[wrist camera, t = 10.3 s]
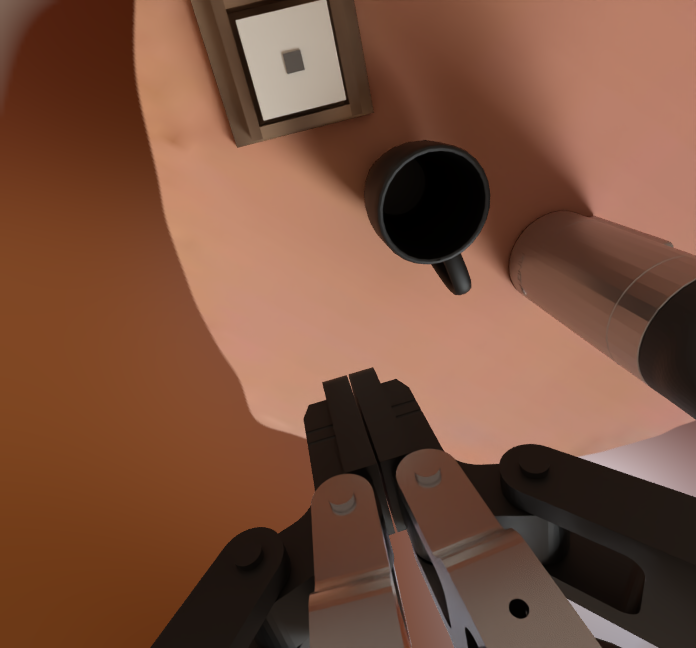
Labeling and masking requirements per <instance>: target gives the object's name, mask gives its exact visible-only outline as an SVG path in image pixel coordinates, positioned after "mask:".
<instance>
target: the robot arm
mask: <svg viewBox="0 0 696 648" xmlns="http://www.w3.org/2000/svg"><path fill="white" fill-rule="evenodd" d="M509 271H510V277H511V280H512V282H513V285H514V286H515V288H516V289H517V290H518V291H519V292H520V293H521V294H523V295H524V296H525V297H527V298H528V299H529V300H531V301H532V302H533V303H535V304H536V305H537V306H539V307H540V308H541V309H543V310H544V311H545V312H547V313H548V314H550V315H551V316H552V317H554V318H555V319H556V320H558V321H559V322H561V323H562V324H563V325H565V326H566V327H568V328H569V329H570V330H572V331H573V332H574V333H576V334H577V335H579V336H580V337H581V338H583V339H584V340H586V341H587V342H588V343H590V344H591V345H592V346H594V347H595V348H597V349H598V350H599V351H601V352H602V353H604V354H605V355H606V356H608V357H609V358H610V359H612V360H613V361H615V362H616V363H617V364H619V365H620V366H622V367H623V368H625V369H626V370H627V371H629V372H630V373H631V374H633V375H634V376H636V377H637V378H638V379H640V380H641V381H643V382H644V383H645V384H647V385H648V386H650V387H651V388H652V389H654V390H655V391H657V392H658V393H659V394H661V395H662V396H664V397H665V398H667V399H668V400H670V401H671V402H672V403H674V404H675V405H676V406H678V407H679V408H681V409H682V410H683V411H685V412H686V413H687V414H689V415H690V416H692V417H693V418H694V419H696V256H695V255H693V254H690V253H687V252H684V251H681V250H678V249H676V248H673V244H672V243H671V242H669V241H667V240H664V239H661V238H658V237H655V236H652V235H649V234H646V233H643V232H640V231H637V230H634V229H631V228H629V227H626V226H623V225H620V224H617V223H614V222H611V221H608V220H605V219H602V218H599V217H596V216H591V217H586V216H583V215H580V214H577V213H574V212H569V211H557V212H553V213H549V214H547V215H545V216H543V217H541V218H539V219H537V220H536V221H534V222H533V223H532V224H530V225H529V226H528V227H527V228H526V229H525V231H524V232H523V233H522V234H521V236H520V237H519V238H518V240H517V241H516V244H515V246H514V248H513V250H512V253H511V257H510V265H509ZM349 379H350V382H351V386H352V389H351V386H350V383H349V380H348V377H347V375H346V376H342V377H339V378H336V379H332V380H329V381H325V382H322V383H323V388H324V392H325V396H326V400H324V401H321V402H317V403H314V404H311V405H309V406H308V409H307V411H306V414H305V416H304V425H305V431H306V437H307V443H308V449H309V455H310V462H311V468H312V474H313V480H314V486H315V493H314V495H313V498H312V501H311V506H310V508H309V509H308V511H307V512H306V513H305V515H303V516H302V517H301V518H300V519H299V520H298V521H297V522H295V523H294V524H292V525H291V526H289V527H288V528H286V529H285V530H283V531H281V532H280V533H278V534H277V532H275V531H274V530H272V529H269V528H265V527H257V528H252V529H248V530H246V531H244V532H242V533H240V534H238V535H237V536H236V537H234V538H233V539H232V540H231V541H230V542H229V543H228V544H227V545H226V546H225V547H224V549H223V550H222V551H221V553H220V554H219V556H218V557H217V558H216V560H215V561H214V562H213V564H212V565H211V566H210V568H209V569H208V571H207V572H206V573H205V575H204V576H203V577H202V578H201V580H200V581H199V583H198V584H197V585H196V587H195V588H194V589H193V591H192V592H191V594H190V595H189V596H188V598H187V599H186V600H185V601H184V603H183V604H182V606H181V607H180V608H179V610H178V611H177V612H176V614H175V615H174V617H173V618H172V619H171V620H170V622H169V623H168V624H167V626H166V627H165V629H164V630H163V631H162V633H161V634H160V635H159V637H158V638H157V639H156V641H155V642H154V644H153V645H152V646H151V648H412V645H411V641H410V636H409V632H408V627H407V623H406V618H405V613H404V609H403V604H402V600H401V595H400V591H399V586H398V582H397V577H396V573H395V568H394V565H393V564H394V554H393V550H392V546H391V543H390V539H389V535H391V534H394V533H395V531H394V527H393V523H392V519H391V515H390V511H391V513H392V517H393V519H394V523H395V525H396V528H397V531H398V532H400V531H403V530H406V529H407V532H408V535H409V537H410V540H411V543H412V546H413V551H414V555H415V559H416V561H417V564H418V566H419V568H420V571H421V573H422V575H423V577H424V580H425V582H426V584H427V586H428V589H429V591H430V593H431V595H432V597H433V600H434V602H435V604H436V606H437V609H438V611H439V613H440V615H441V617H442V620H443V622H444V624H445V626H446V629H447V631H448V633H449V635H450V638H451V640H452V643H453V645H454V648H621V647H619V646H617V645H615V644H613V643H610V642H607V641H604V640H601V639H598V638H595V637H594V636H593V635H592V633H591V632H590V631H589V629H588V628H587V626H586V625H585V623H584V622H583V621H582V619H581V618H580V617H579V615H578V614H577V612H576V611H575V610H574V608H573V607H572V605H571V604H570V603H569V601H568V600H567V599H569V600H571V601H573V602H575V603H577V604H578V605H580V606H582V607H584V608H586V609H588V610H589V611H591V612H593V613H595V614H597V615H599V616H601V617H603V618H604V619H606V620H608V621H610V622H612V623H614V624H616V625H617V626H619V627H621V628H623V629H625V630H627V631H629V632H631V633H632V634H634V635H636V636H638V637H640V638H642V639H644V640H646V641H647V642H649V643H651V644H653V645H655V646H657V647H658V648H696V497H693V496H690V495H687V494H684V493H681V492H678V491H675V490H673V489H670V488H667V487H664V486H661V485H658V484H655V483H652V482H649V481H646V480H643V479H640V478H637V477H634V476H631V475H628V474H626V473H622V472H620V471H617V470H613V469H610V468H608V467H605V466H602V465H599V464H596V463H593V462H590V461H587V460H584V459H581V458H578V457H575V456H572V455H570V454H567V453H564V452H561V451H558V450H555V449H552V448H549V447H546V446H542V445H536V444H525V445H519V446H516V447H513V448H512V449H510V450H508V451H507V452H506V453H505V454H504V455H503V456H502V458H501V460H500V464H487V465H473V464H467V463H463V462H460V461H457V460H455V459H454V458H453V457H452V456H451V455H450V454H448V453H446V452H445V451H444V450H443V449H442V447H441V445H440V443H439V442H438V440H437V438H436V436H435V434H434V432H433V431H432V429H431V427H430V425H429V423H428V421H427V420H426V418H425V416H424V414H423V412H422V411H421V409H420V407H419V405H418V403H417V401H416V400H415V398H414V396H413V394H412V392H411V390H410V388H409V387H408V386H406V385H405V384H403V383H402V382H400V381H398V380H397V379H394V380H391V381H387V382H384V383H380V381H379V379H378V377H377V374H376V372H375V370H374V368H373V367H372V368H369V369H366V370H362V371H359V372H355V373H352V374H349ZM352 390H353V392H352ZM353 394H354V395H353ZM386 499H387V500H386ZM387 502H388V504H387ZM388 505H389V508H390V511H389V508H388Z"/></svg>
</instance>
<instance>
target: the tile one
mask: <svg viewBox="0 0 696 648" xmlns="http://www.w3.org/2000/svg"><path fill="white" fill-rule="evenodd" d="M235 21H236V25H237V29H238V33H239V36H240V40H241V43H242V47H243V50H244V54H245V57H246V61H247V64H248V68H249V72H250V75H251V79H252V82H253V86H254V89H255V93H256V96H257V100H258V103H259V107H260V110H261V114H262V117H263V120H264V121H265V120H268V119H272V118H276V117H280V116H284V115H288V114H292V113H296V112H300V111H304V110H308V109H312V108H316V107H320V106H324V105H327V104H331V103H335V102H339V101H343V100H346V96H345V91H344V86H343V81H342V76H341V71H340V66H339V61H338V56H337V51H336V46H335V41H334V36H333V31H332V26H331V21H330V16H329V11H328V6H327V1H326V0H319V1H315V2H310V3H306V4H302V5H298V6H294V7H289V8H285V9H281V10H277V11H273V12H268V13H264V14H260V15H256V16H252V17H247V18H243V19H239V20H235Z"/></svg>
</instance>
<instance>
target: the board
mask: <svg viewBox="0 0 696 648" xmlns="http://www.w3.org/2000/svg"><path fill="white" fill-rule="evenodd" d="M315 1H319V0H191V3H192V6H193V10H194V13H195V16H196V19H197V22H198V25H199V29H200V32H201V35H202V38H203V41H204V44H205V48H206V51H207V54H208V57H209V60H210V63H211V67H212V70H213V73H214V76H215V79H216V82H217V86H218V89H219V92H220V95H221V98H222V101H223V105H224V108H225V111H226V114H227V117H228V120H229V123H230V127H231V130H232V133H233V136H234V139H235V142H236V146H237V148H238V147H242V146H246V145H250V144H254V143H258V142H262V141H266V140H269V139H273V138H277V137H281V136H285V135H289V134H293V133H297V132H301V131H304V130H308V129H312V128H316V127H320V126H324V125H328V124H332V123H336V122H339V121H343V120H347V119H351V118H355V117H359V116H363V115H367V114H371V113H374V112H373V106H372V100H371V95H370V89H369V83H368V78H367V72H366V66H365V61H364V55H363V49H362V43H361V38H360V32H359V26H358V21H357V15H356V9H355V4H354V0H326V1H327V6H328V11H329V16H330V21H331V26H332V31H333V36H334V41H335V46H336V51H337V56H338V61H339V66H340V71H341V76H342V81H343V86H344V91H345V96H346V100H343V101H339V102H335V103H331V104H327V105H324V106H320V107H316V108H312V109H308V110H304V111H300V112H296V113H292V114H288V115H284V116H280V117H276V118H272V119H268V120H265V121H264V120H263V117H262V114H261V110H260V107H259V103H258V100H257V96H256V93H255V89H254V86H253V82H252V79H251V75H250V72H249V68H248V64H247V61H246V57H245V54H244V50H243V47H242V43H241V40H240V36H239V33H238V29H237V25H236V21H235V20H239V19H243V18H247V17H252V16H256V15H260V14H264V13H268V12H273V11H277V10H281V9H285V8H289V7H294V6H298V5H302V4H306V3H310V2H315Z"/></svg>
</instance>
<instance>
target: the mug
mask: <svg viewBox="0 0 696 648" xmlns="http://www.w3.org/2000/svg"><path fill="white" fill-rule="evenodd" d="M364 198H365V207H366V211H367V214H368V218H369V220H370V223H371V225H372V226H373V228H374V230H375V232H376V233H377V235H378V236H379V237H380V238H381V239H382V240H383V241H384V242H385V244H386V245H387V246H388V247H389V248H390V249H391V250H392V251H393V252H394V253H395V254H397V255H398V256H400V257H401V258H403V259H405V260H407V261H410V262H413V263H418V264H431V265H432V266H433V268H434V269H435V271H436V272H437V274H438V275H439V277H440V278H441V280H442V281H443V283H444V284H445V285H446V287H447V288H448V289H449V290H450V291H451V292H452V293H453V294H455V295H462V294H465V293H467V292H468V291H469V290H470V289H471V279H470V276H469V273H468V270H467V268H466V265H465V262H464V260H463V258H462V255H461V252H463V251H464V250H465V249H466V248H467V247H468V246H470V245H471V244H472V243H473V241H474V240H475V239H476V237H477V236H478V235H479V233H480V232H481V230H482V228H483V226H484V224H485V221H486V219H487V215H488V211H489V207H490V189H489V183H488V180H487V177H486V175H485V172H484V170H483V168H482V167H481V165H480V164H479V163H478V161H477V160H476V159H475V158H474V157H473V156H472V155H470V154H469V153H468V152H467V151H465V150H463V149H461V148H458V147H456V146H453V145H449V144H445V143H440V142H434V141H427V140H424V141H415V142H408V143H405V144H402V145H399V146H396V147H394V148H392V149H391V150H389V151H387V152H386V153H384V154H383V155H382V156H381V157H380V158H379V159H378V160H377V161H376V162H375V163H374V164H373V166H372V167H371V169H370V170H369V173H368V176H367V179H366V183H365V190H364Z"/></svg>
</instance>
